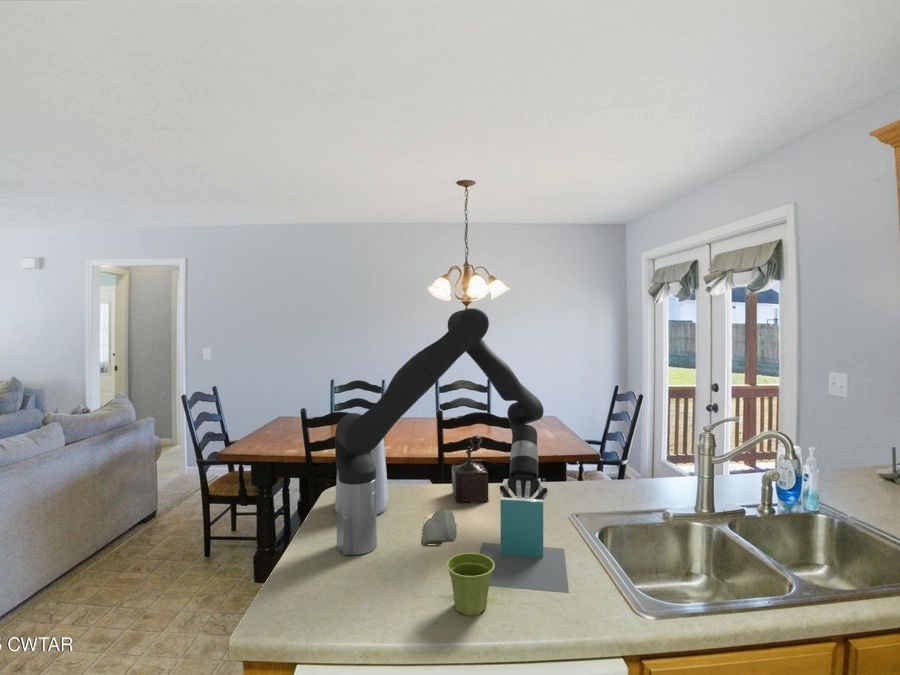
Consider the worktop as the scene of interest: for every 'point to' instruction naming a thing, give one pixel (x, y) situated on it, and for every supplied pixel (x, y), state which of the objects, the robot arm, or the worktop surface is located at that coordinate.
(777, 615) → the worktop surface
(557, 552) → the rubber mat
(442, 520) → the stone slab
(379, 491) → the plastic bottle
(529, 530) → the glazed tile
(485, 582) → the plant pot
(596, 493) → the worktop surface
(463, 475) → the brown coffee grinder
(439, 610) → the worktop surface
